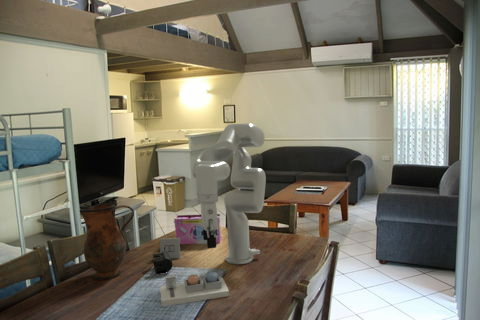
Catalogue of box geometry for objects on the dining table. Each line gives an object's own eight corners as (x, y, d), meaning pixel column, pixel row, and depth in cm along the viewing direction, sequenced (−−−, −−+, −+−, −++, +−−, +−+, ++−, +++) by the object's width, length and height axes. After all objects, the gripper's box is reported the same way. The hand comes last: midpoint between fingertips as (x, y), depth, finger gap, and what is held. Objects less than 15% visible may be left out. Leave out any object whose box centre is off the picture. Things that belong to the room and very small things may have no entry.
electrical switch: (159, 259, 177) (158, 239, 177) (162, 256, 182) (161, 237, 182) (180, 259, 177) (179, 239, 177) (181, 256, 182) (180, 236, 182)
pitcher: (86, 271, 167) (80, 204, 163) (136, 263, 174) (131, 198, 170) (85, 287, 151) (78, 212, 148) (140, 277, 158) (135, 206, 155)
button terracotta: (198, 280, 144) (197, 273, 143) (199, 284, 140) (199, 278, 140) (187, 281, 143) (187, 275, 142) (188, 286, 139) (188, 279, 139)
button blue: (216, 277, 145) (216, 271, 145) (218, 282, 141) (218, 275, 141) (206, 279, 144) (205, 272, 144) (207, 283, 141) (207, 277, 140)
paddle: (175, 285, 144) (175, 274, 143) (176, 287, 142) (175, 277, 141) (166, 286, 143) (165, 276, 143) (166, 288, 141) (165, 278, 141)
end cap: (173, 272, 162) (172, 257, 161) (156, 275, 160) (155, 260, 159) (169, 264, 171) (168, 249, 171) (153, 266, 169) (152, 252, 168)
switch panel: (222, 282, 150) (222, 271, 150) (229, 296, 139) (228, 284, 138) (160, 291, 145) (159, 280, 144) (161, 306, 133) (160, 294, 133)
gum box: (173, 244, 197) (172, 219, 196) (176, 239, 205) (175, 215, 204) (220, 243, 196) (218, 217, 195) (221, 238, 204) (220, 213, 203)
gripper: (222, 201, 132) (224, 250, 134) (213, 192, 149) (215, 235, 151) (200, 203, 130) (202, 252, 132) (194, 194, 147) (196, 237, 149)
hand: (209, 243), depth 141 cm, fingers open, 9 cm apart
